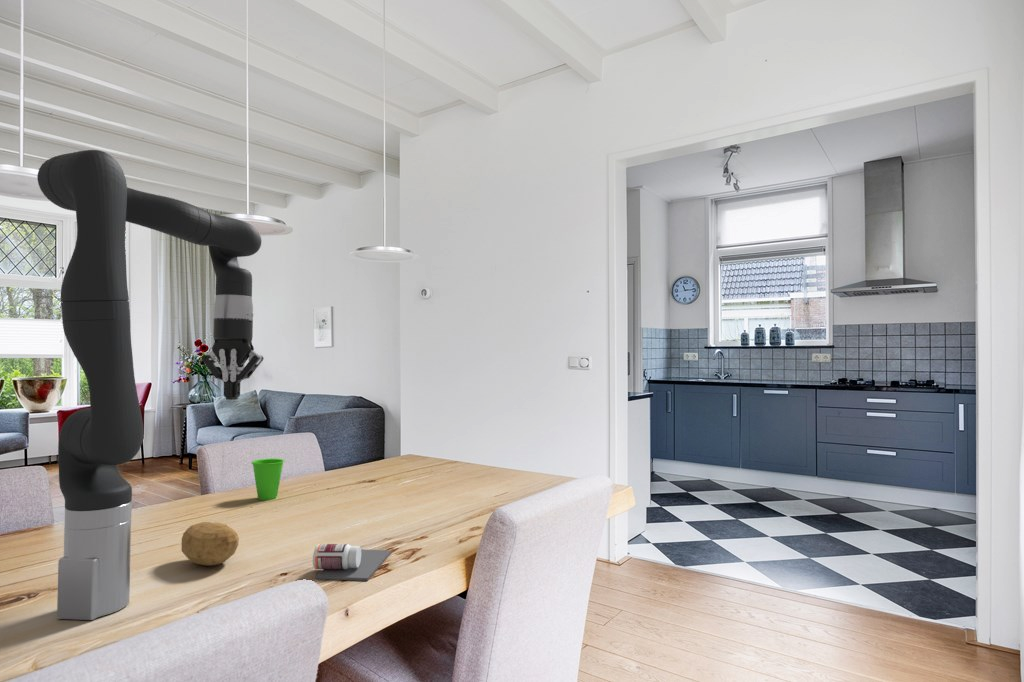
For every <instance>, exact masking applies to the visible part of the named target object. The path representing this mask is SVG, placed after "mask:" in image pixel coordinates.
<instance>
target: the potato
mask: <svg viewBox="0 0 1024 682" xmlns="http://www.w3.org/2000/svg"><path fill="white" fill-rule="evenodd" d="M239 539H240V538H239V535H238V533H237V531H236V530H235V529H234V528H232V527H231V526H229V525H227V524H225V523H221V522H210V521H202V522H199V523H195V524H192V525H190V526H189V527H188V528H187V529H186V530H185V531H184V532H183V534H182V536H181V552H182V554H183V555H184V556H185V557H186V558H187V559H188V560H189V562H191V563H194V564H197V565H202V566H206V567H207V566H209V567H210V566H211V567H212V566H217V565H220V564H223V563H225V562H227V560H229V558H231V557H232V556H233V555H235V553H236V551H237V549H238V546H239Z"/></svg>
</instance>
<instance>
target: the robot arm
mask: <svg viewBox="0 0 1024 682" xmlns="http://www.w3.org/2000/svg"><path fill="white" fill-rule="evenodd" d="M36 176H37V183H38V186H39V187H38V188H39V189H40V191H41V193H42V194H43V195H44V196H45V197H46V198H47V200H49V201H50V202H51V204H54V205H55V206H57V207H59V208H61V209H64V210H68V211H72V212H75V215H76V216H75V217H76V219H75V220H76V242H75V247H74V249H73V252H72V255H71V257H70V260H69V262H68V265H67V268H66V270H65V273H64V276H63V279H62V283H61V289H60V307H61V309H60V311H61V320H62V328H63V332H64V337H65V338H66V341H67V343H68V345H69V347H70V350H71V351H72V353H73V355H74V356H75V359H76V360H77V363H78V364H79V366H80V368H81V369H82V372H83V373H84V376H85V379H86V381H87V382H86V383H87V386H88V392H89V405H90V407H87V408H81V409H79V410H76V411H74V412H73V413H72V414H70V415H69V416H68V417H67V418H66V419H65V421H64V422H63V423H62V425H61V428H60V432H59V434H58V446H57V454H58V455H57V456H58V457H57V458H58V459H57V460H58V462H57V463H58V484H59V489H60V492H61V494H62V496H63V498H64V525H63V526H64V527H63V531H64V533H63V557H60V558H59V559H58V562H57V564H58V565H57V567H58V568H57V602H56V603H57V604H56V605H57V606H56V619H58V620H59V619H60V620H63V619H64V620H79V621H80V620H82V621H83V620H84V621H86V620H87V621H92V620H95V619H98V618H100V617H103V616H106V615H110V614H113V613H115V612H117V611H119V610H122V609H123V608H125V607H127V606H128V605H129V603H130V595H131V593H130V590H131V588H130V585H131V552H132V549H131V546H132V545H131V544H132V543H131V542H132V541H131V540H132V510H133V509H132V507H133V505H132V502H133V487H132V485H131V483H130V482H128V481H127V480H126V479H125V478H124V477H123V476H122V475H121V473H120V472H119V469H118V465H119V466H120V465H123V464H126V463H128V462H130V461H131V460H132V459H134V457H136V456H137V455H138V452H139V451H140V449H141V447H142V444H143V439H144V431H145V430H144V423H143V416H142V409H141V407H140V401H139V396H138V391H137V386H136V385H137V384H136V378H135V372H134V371H135V370H134V369H135V368H134V358H133V349H132V348H133V347H132V336H131V311H130V310H131V309H130V299H129V291H128V289H129V288H128V281H127V279H128V278H127V277H128V275H127V255H126V254H127V253H126V226H127V225H126V223H130V224H134V225H137V226H141V227H143V228H147V229H151V230H153V231H156V232H158V233H159V232H160V233H163V234H166V235H169V236H172V237H174V238H177V239H180V240H183V241H185V242H188V243H191V244H194V245H197V246H208V251H209V255H210V259H211V264H212V267H213V270H214V273H215V297H214V304H213V329H212V330H213V332H212V334H213V335H212V337H213V341H214V342H213V344H212V347H211V351H210V352H208V353H207V354H202V356H201V360H202V361H203V363H204V365H205V366H206V367H207V368H208V370H209V371H210V373H211V374H212V375H213V376H214V378H215V379H217V380H220V381H222V382H223V397H224V398H225V400H226V401H235V400H236V401H237V400H238V399H239V397H240V396H241V382H242V381H243V380H247V379H250V378H251V376H252V375H253V373H254V372H255V371H256V370H257V368H258V367H259V366H260V365H261V364H262V363H263V361H264V356H263V355H260V354H258V353H257V352H256V351H255V348H254V346H253V343H252V341H253V332H254V330H253V328H254V327H253V325H254V323H253V322H254V304H253V298H252V297H253V275H252V272H251V271H250V270H248V269H246V268H242V267H240V264H239V261H238V258H242V257H243V258H245V257H251V256H253V255H254V254H256V253H257V252H258V251H259V250H260V249H261V247H262V237H261V234H260V232H259V231H258V229H256V227H255V226H253V224H250V223H249V222H246V221H244V220H240V219H237V218H233V217H230V216H229V217H228V216H226V215H220V214H217V213H216V214H215V213H213V212H209V211H208V210H206V209H203V208H201V207H198V206H196V205H194V204H191V203H188V202H186V201H182V200H180V199H176V198H173V197H169V196H164V195H160V194H155V193H150V192H145V191H141V190H138V189H134V188H131V187H128V184H127V179H126V176H125V172H124V169H123V168H122V166H121V164H119V162H118V160H116V159H115V158H114V157H113V156H112V155H111V154H109V153H107V152H105V151H103V150H98V149H86V150H79V151H74V152H68V153H63V154H59V155H55V156H52V157H51V158H49V159H47V160H45V161H44V162H43V163H42V164H41V165H40V167H39V168H38V172H37V175H36ZM247 360H248V362H247ZM218 361H219V362H218ZM246 362H247V363H246Z"/></svg>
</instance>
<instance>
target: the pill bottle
mask: <svg viewBox="0 0 1024 682" xmlns="http://www.w3.org/2000/svg"><path fill="white" fill-rule="evenodd" d="M361 549H362V548H361V546H360V545H350V544H348V543H317V544H316V546H315V547H314V550H313V553H312V566H313V567H314V569H315V570H324V569H340V570H345V569H348V568H349V567H351V568H358V567H359V565H360V562H361Z"/></svg>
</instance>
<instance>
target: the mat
mask: <svg viewBox="0 0 1024 682" xmlns="http://www.w3.org/2000/svg"><path fill="white" fill-rule="evenodd" d="M391 554H392V550H391V549H390V550H388V549H387V550H386V549H362V548H361V562H360V565H359V567H358V568H351V567H349V568H348V569H345V570H340V569H322V571H320V572H319V573H318V574H317V575H316V576H315V580H335V581H358V582H360V581H362V582H364V581H365V582H368V581H369V580H370V579H371V578H372V576H374V574H375V573H376V572H377V571H378V570H379V568H380V567H381V566H382V565H383V564H384V562H385V561H386V560H387V559H388V558H389V557H390V555H391Z"/></svg>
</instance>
